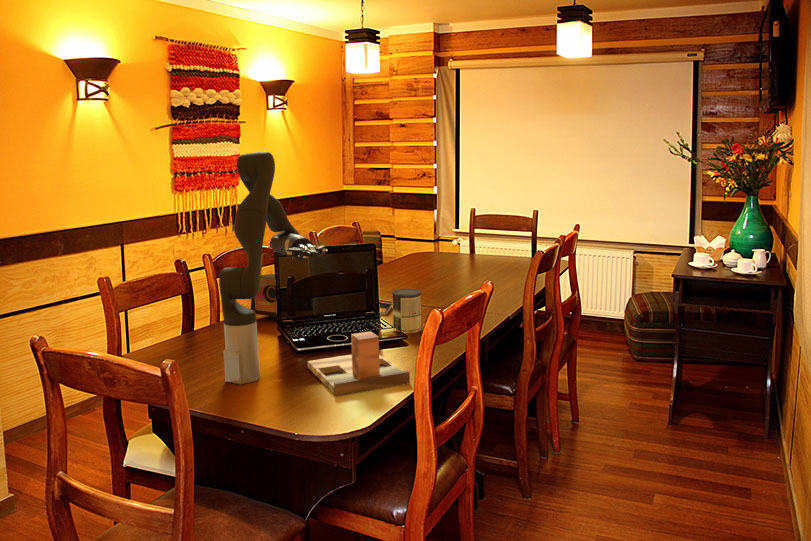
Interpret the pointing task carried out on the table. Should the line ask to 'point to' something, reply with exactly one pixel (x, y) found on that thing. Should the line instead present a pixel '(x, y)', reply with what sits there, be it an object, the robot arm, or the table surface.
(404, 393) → the table surface
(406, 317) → the coffee can
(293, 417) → the table surface
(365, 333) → the block
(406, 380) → the trap box
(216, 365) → the table surface
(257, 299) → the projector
